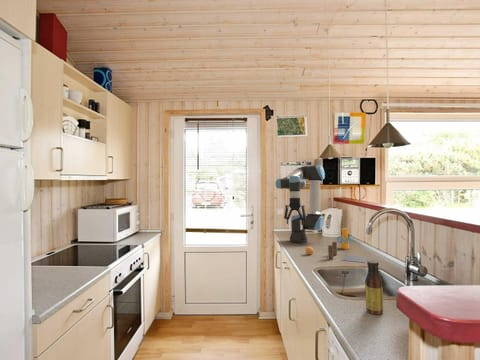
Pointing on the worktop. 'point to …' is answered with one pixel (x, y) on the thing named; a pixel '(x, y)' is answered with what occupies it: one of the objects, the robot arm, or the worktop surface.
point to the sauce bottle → (373, 289)
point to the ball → (309, 250)
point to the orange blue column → (345, 239)
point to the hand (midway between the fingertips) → (295, 229)
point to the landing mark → (355, 259)
